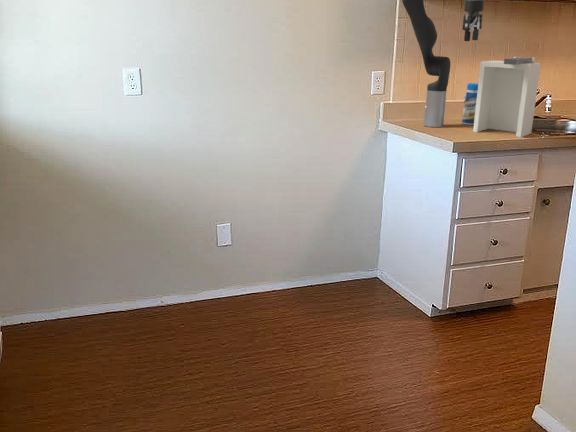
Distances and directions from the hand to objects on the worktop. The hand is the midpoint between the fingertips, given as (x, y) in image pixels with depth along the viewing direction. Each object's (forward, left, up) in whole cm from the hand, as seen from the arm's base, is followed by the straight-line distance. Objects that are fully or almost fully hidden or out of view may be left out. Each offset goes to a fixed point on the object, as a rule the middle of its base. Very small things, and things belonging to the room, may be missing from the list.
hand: (471, 40), depth 257 cm
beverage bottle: (+3, +52, -42) cm, 67 cm away
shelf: (+18, +30, -41) cm, 54 cm away
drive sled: (+21, +23, -9) cm, 33 cm away
